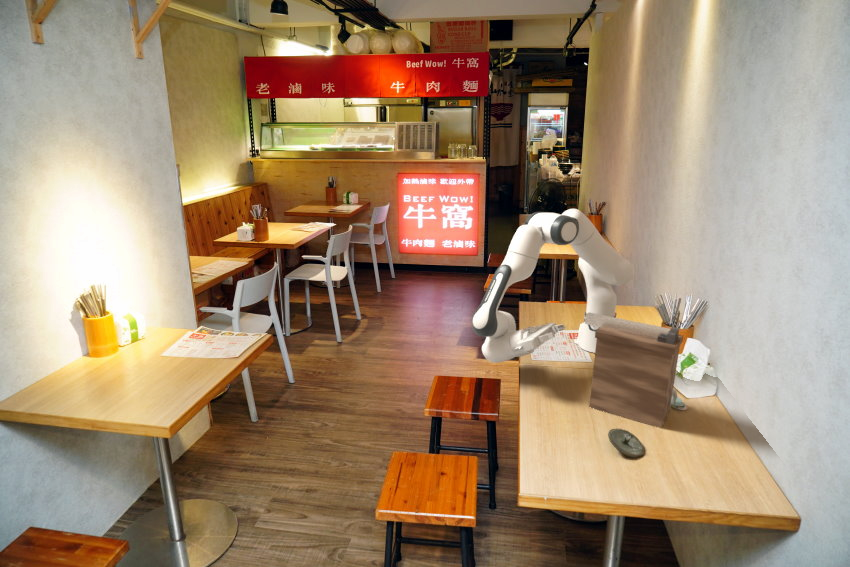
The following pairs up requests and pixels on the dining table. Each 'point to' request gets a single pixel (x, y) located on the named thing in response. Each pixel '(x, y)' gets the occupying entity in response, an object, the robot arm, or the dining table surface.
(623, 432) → the lid
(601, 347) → the walnut stand
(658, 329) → the aluminium bar
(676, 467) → the dining table surface
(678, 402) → the pacifier
